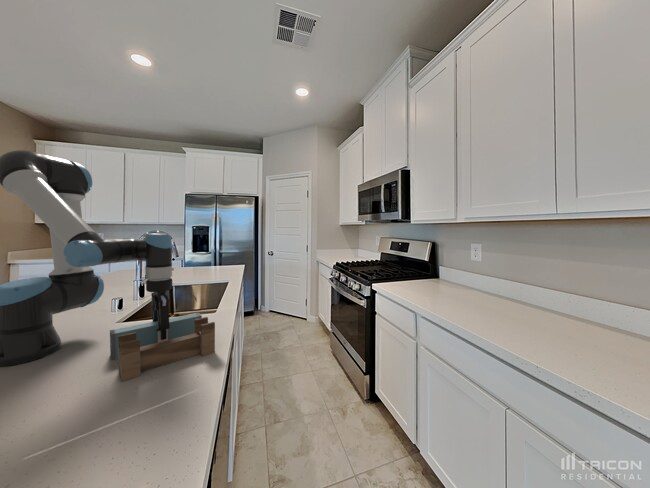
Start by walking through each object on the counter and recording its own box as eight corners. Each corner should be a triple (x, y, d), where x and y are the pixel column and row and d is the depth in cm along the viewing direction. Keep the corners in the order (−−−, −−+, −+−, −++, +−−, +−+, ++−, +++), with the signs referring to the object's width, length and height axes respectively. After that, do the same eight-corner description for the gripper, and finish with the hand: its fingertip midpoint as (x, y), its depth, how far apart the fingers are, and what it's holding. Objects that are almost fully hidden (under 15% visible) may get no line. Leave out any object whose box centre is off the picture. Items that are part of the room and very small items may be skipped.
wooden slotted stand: (118, 370, 71) (118, 335, 71) (206, 344, 88) (206, 316, 88) (121, 381, 66) (121, 344, 66) (214, 352, 83) (214, 322, 82)
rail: (110, 355, 80) (109, 330, 79) (198, 333, 98) (198, 312, 97) (111, 360, 77) (111, 334, 76) (201, 336, 95) (201, 315, 94)
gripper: (179, 281, 82) (180, 351, 83) (165, 273, 96) (166, 332, 97) (152, 285, 76) (153, 358, 78) (140, 275, 90) (142, 338, 92)
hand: (160, 344), depth 87 cm, fingers open, 7 cm apart
